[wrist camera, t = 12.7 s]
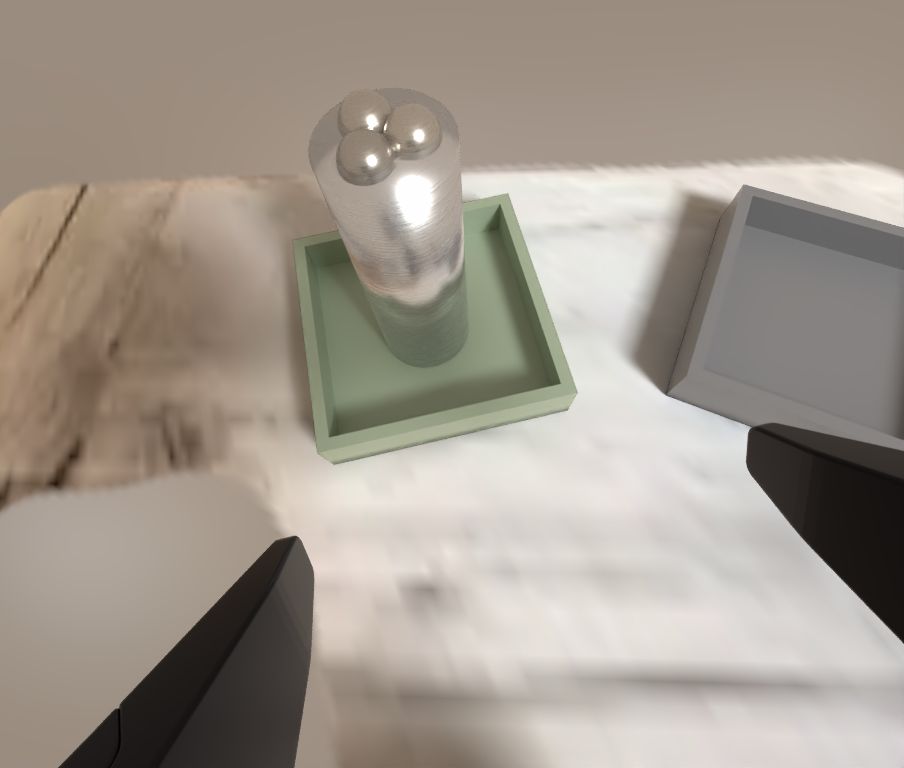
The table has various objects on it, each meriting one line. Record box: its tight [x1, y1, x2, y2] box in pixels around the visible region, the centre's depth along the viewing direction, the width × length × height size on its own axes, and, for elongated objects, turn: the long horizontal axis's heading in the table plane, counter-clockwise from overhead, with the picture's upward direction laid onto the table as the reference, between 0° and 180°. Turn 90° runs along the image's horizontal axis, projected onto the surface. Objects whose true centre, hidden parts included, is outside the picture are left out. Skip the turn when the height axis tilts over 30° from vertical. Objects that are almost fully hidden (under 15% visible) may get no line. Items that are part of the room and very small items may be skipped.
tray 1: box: [293, 193, 578, 465], centre depth 25 cm, size 12×12×3 cm
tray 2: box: [666, 185, 904, 451], centre depth 23 cm, size 12×12×3 cm
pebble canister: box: [309, 88, 468, 368], centre depth 19 cm, size 5×5×13 cm
